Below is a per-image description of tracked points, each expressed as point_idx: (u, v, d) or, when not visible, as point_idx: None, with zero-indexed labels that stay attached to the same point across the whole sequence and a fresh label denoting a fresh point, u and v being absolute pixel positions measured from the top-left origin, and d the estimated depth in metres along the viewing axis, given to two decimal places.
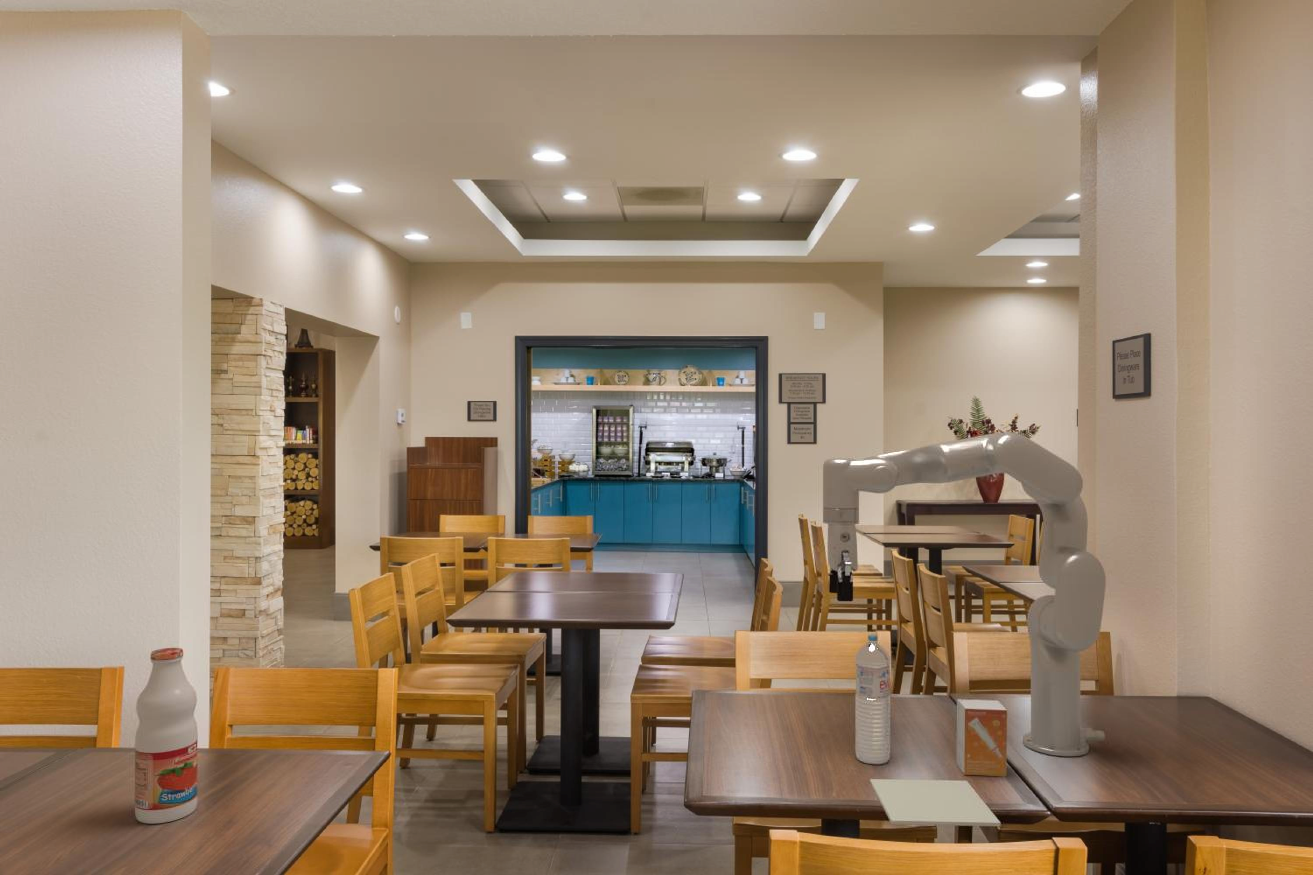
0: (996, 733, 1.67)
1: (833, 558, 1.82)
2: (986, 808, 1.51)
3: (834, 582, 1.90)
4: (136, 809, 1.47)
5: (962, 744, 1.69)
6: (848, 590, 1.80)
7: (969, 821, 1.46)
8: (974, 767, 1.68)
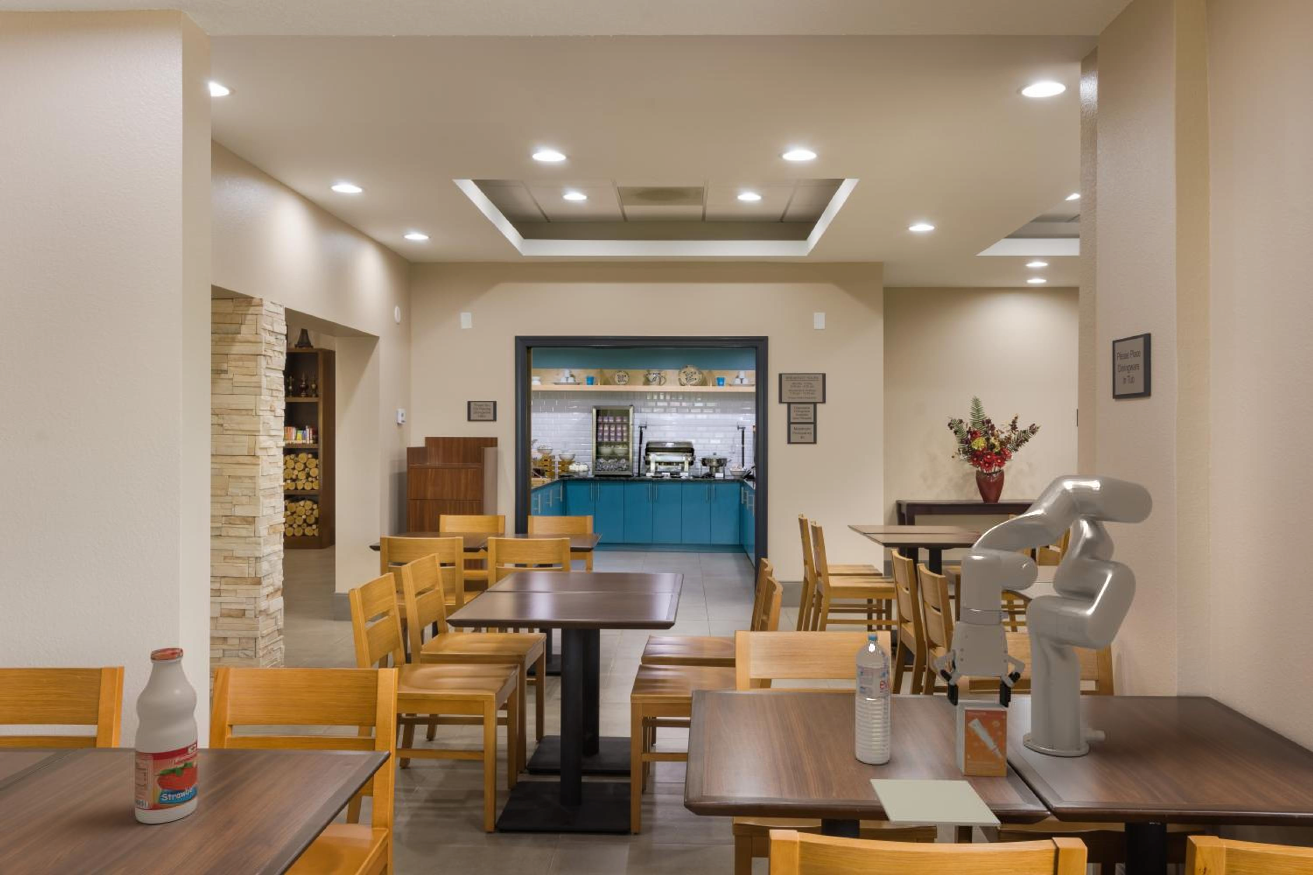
0: (996, 733, 1.67)
1: (1002, 663, 1.68)
2: (986, 808, 1.51)
3: None
4: (136, 809, 1.47)
5: (962, 745, 1.69)
6: None
7: (969, 821, 1.46)
8: (974, 768, 1.68)
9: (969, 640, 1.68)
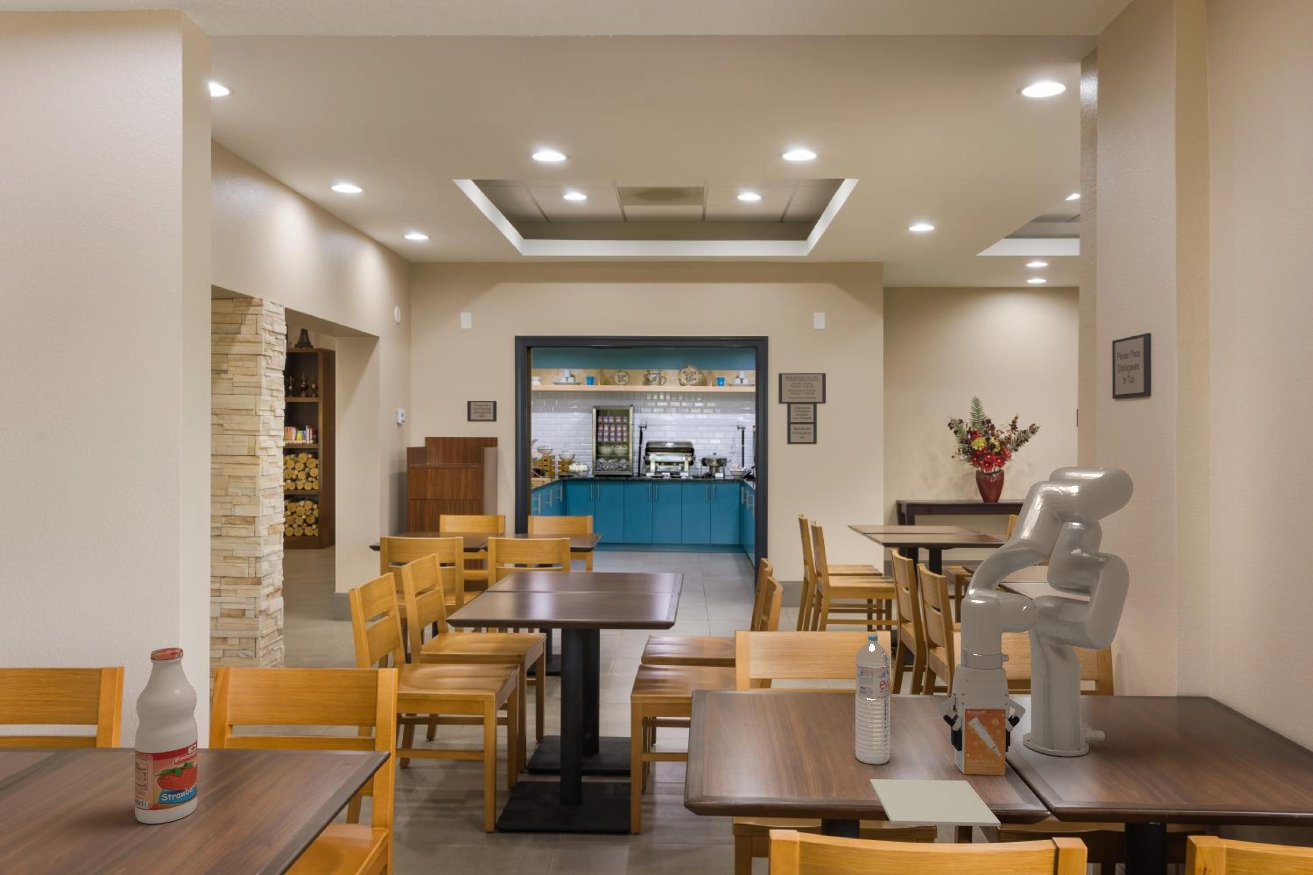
0: (995, 732, 1.68)
1: (1003, 707, 1.68)
2: (986, 808, 1.51)
3: None
4: (136, 809, 1.47)
5: (962, 744, 1.69)
6: None
7: (969, 821, 1.46)
8: (974, 766, 1.68)
9: (970, 684, 1.68)
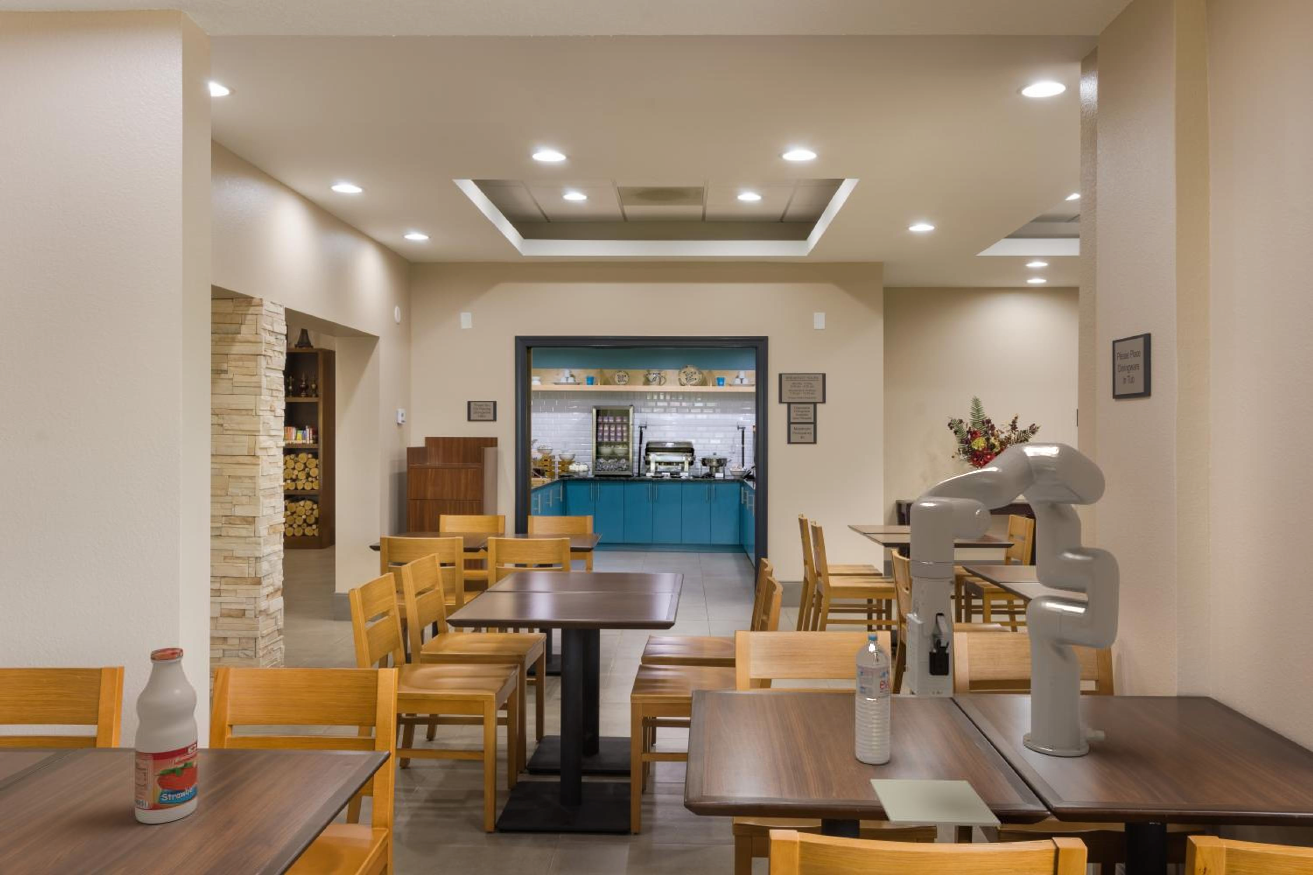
0: None
1: None
2: (986, 808, 1.51)
3: None
4: (136, 809, 1.47)
5: None
6: None
7: (969, 821, 1.46)
8: None
9: None
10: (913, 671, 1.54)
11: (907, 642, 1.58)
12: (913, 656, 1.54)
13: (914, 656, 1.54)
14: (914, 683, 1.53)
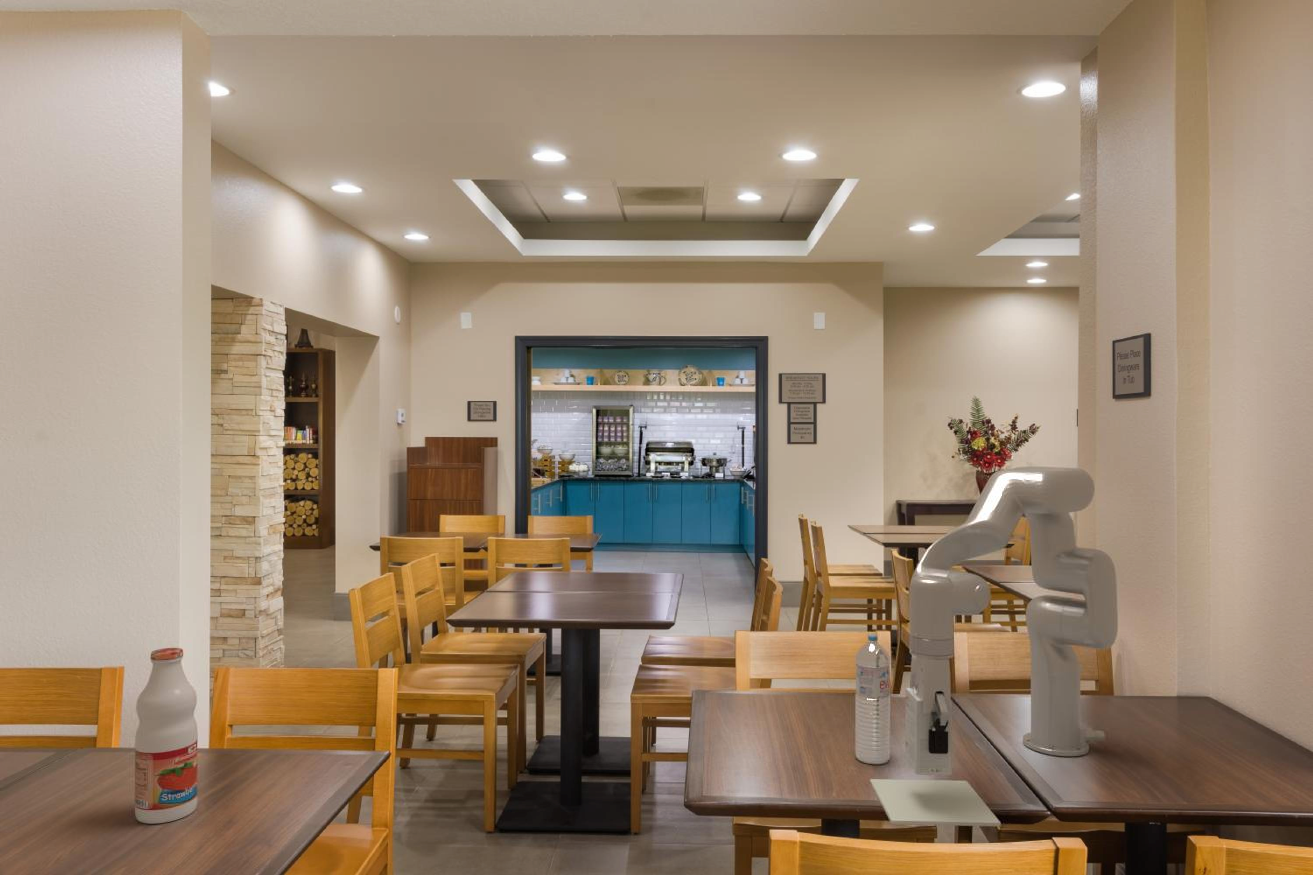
0: None
1: None
2: (986, 808, 1.51)
3: None
4: (136, 809, 1.47)
5: None
6: None
7: (969, 821, 1.46)
8: None
9: None
10: (912, 748, 1.54)
11: (906, 716, 1.58)
12: (912, 732, 1.54)
13: (913, 732, 1.53)
14: (913, 760, 1.53)
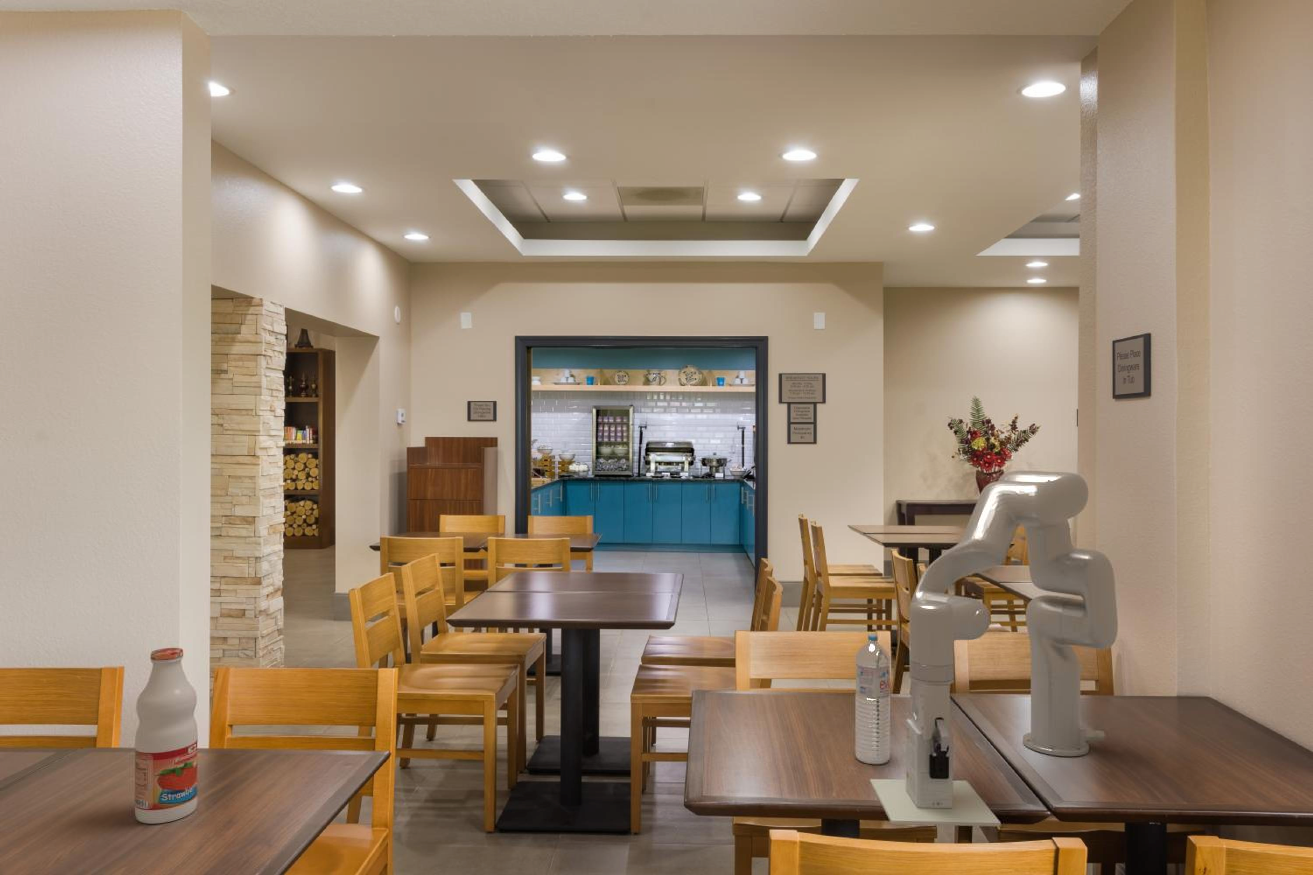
0: None
1: None
2: (986, 808, 1.51)
3: None
4: (136, 809, 1.47)
5: None
6: None
7: (969, 821, 1.46)
8: None
9: None
10: (913, 780, 1.54)
11: (907, 748, 1.58)
12: (913, 765, 1.54)
13: (914, 765, 1.54)
14: (914, 792, 1.53)
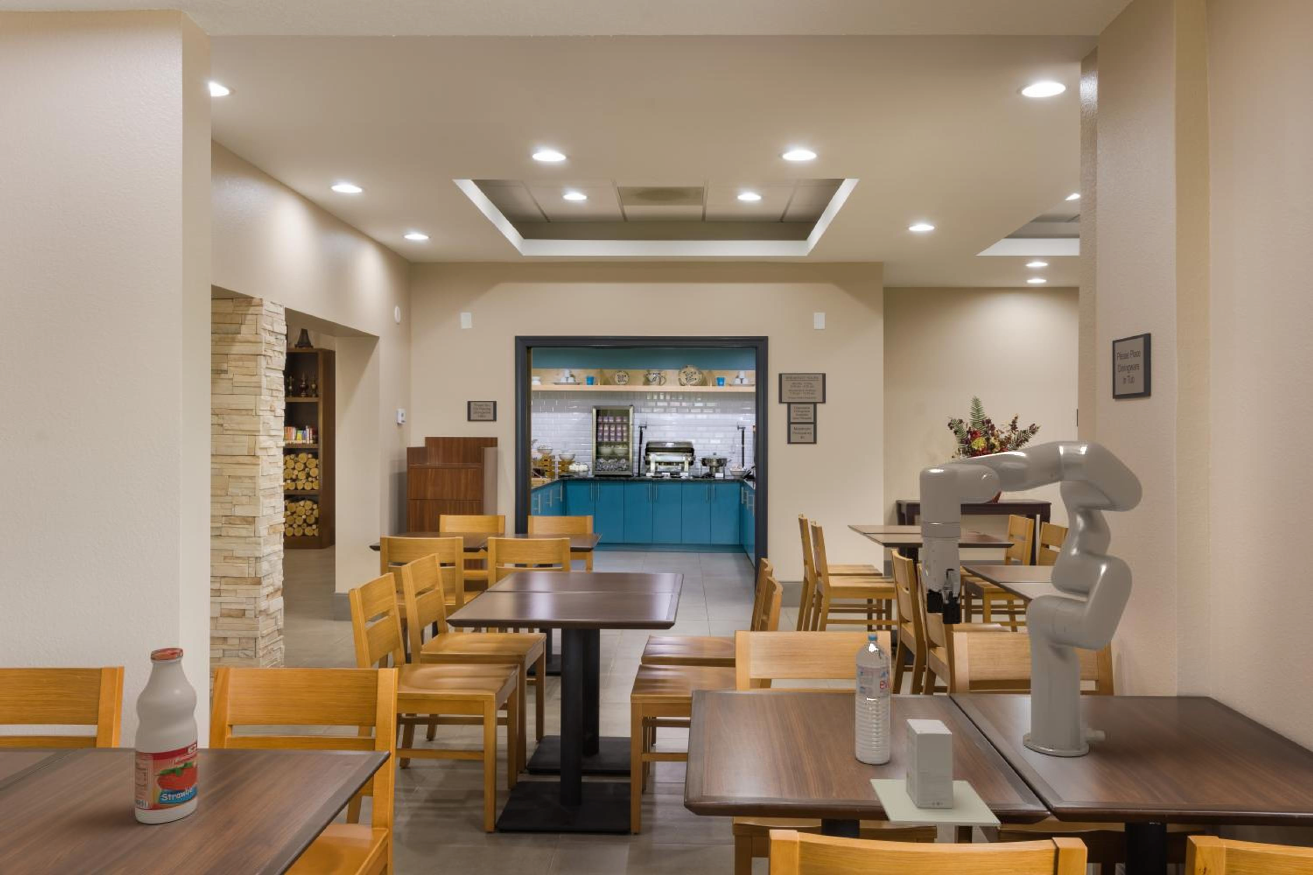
0: None
1: None
2: (986, 808, 1.51)
3: None
4: (136, 809, 1.47)
5: (947, 776, 1.51)
6: None
7: (969, 821, 1.46)
8: None
9: None
10: (913, 780, 1.54)
11: (907, 748, 1.58)
12: (913, 765, 1.54)
13: (914, 765, 1.54)
14: (914, 792, 1.53)
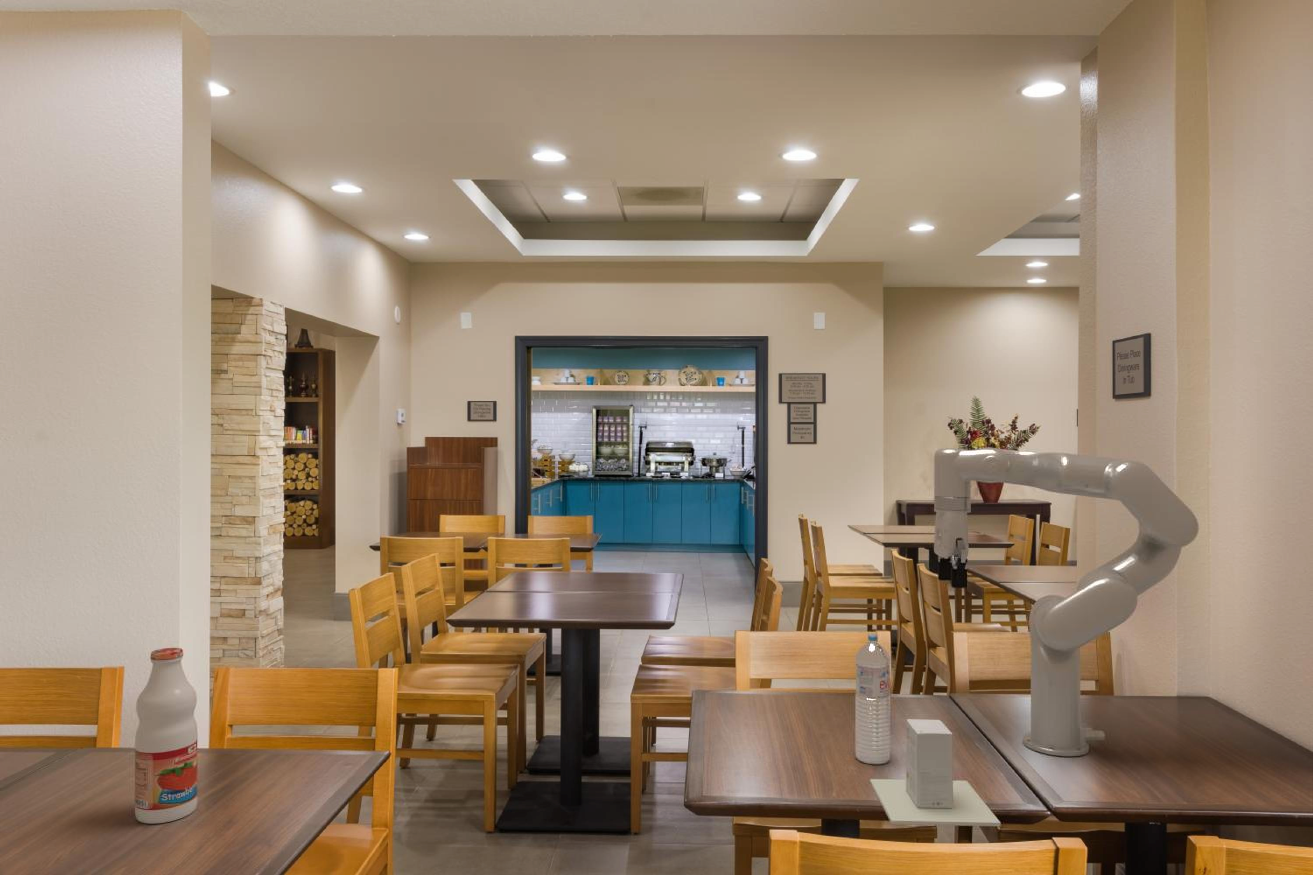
0: None
1: None
2: (986, 808, 1.51)
3: None
4: (136, 809, 1.47)
5: (947, 776, 1.51)
6: None
7: (969, 821, 1.46)
8: None
9: None
10: (913, 780, 1.54)
11: (907, 748, 1.58)
12: (913, 765, 1.54)
13: (914, 765, 1.54)
14: (914, 792, 1.53)
